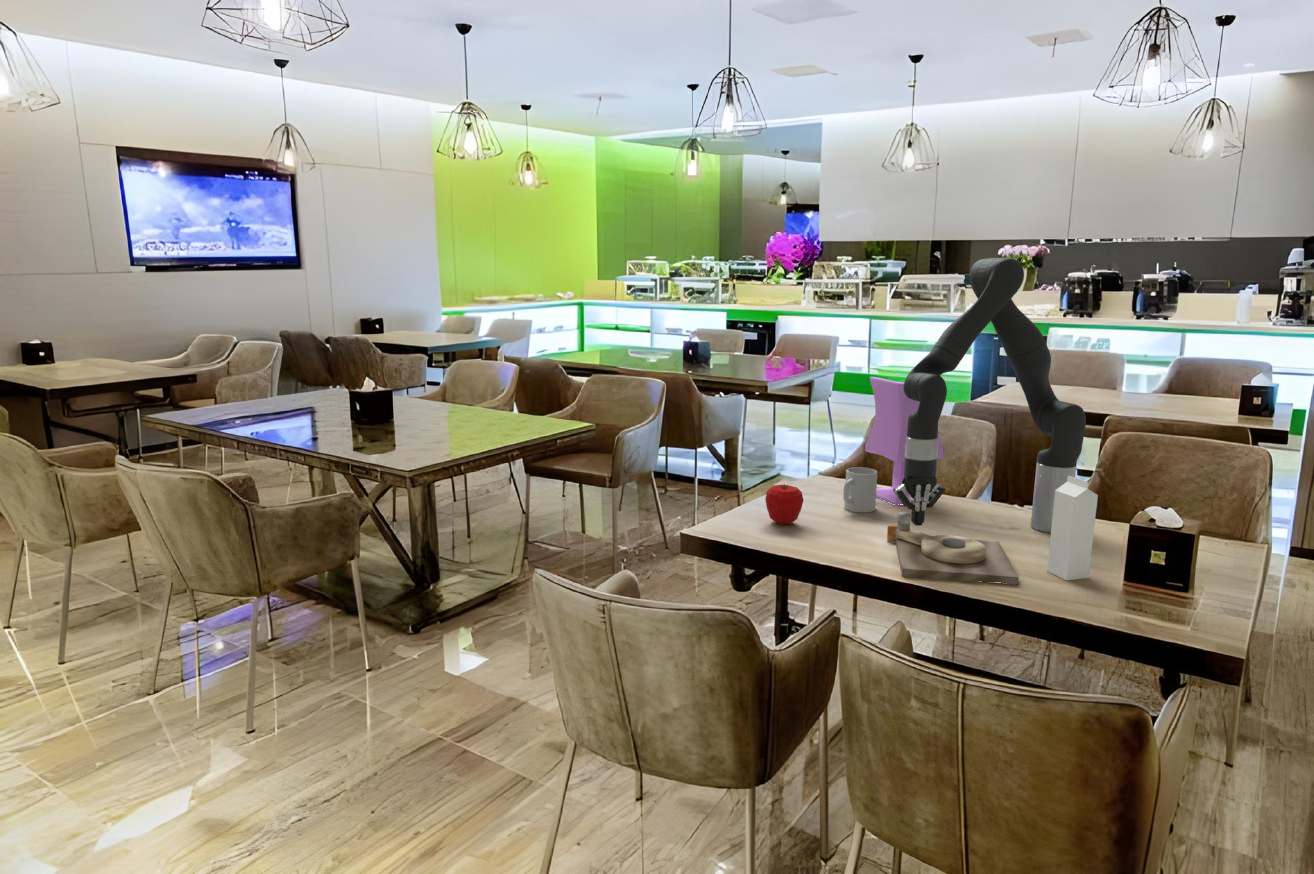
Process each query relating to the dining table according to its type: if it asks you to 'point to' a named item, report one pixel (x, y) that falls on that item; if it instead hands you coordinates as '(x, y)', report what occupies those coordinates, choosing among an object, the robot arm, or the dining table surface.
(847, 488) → the mug
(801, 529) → the dining table surface
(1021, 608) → the dining table surface
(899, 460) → the table lamp
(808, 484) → the dining table surface
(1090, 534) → the milk
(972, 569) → the base plate
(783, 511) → the apple
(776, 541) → the dining table surface
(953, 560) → the crank handle
